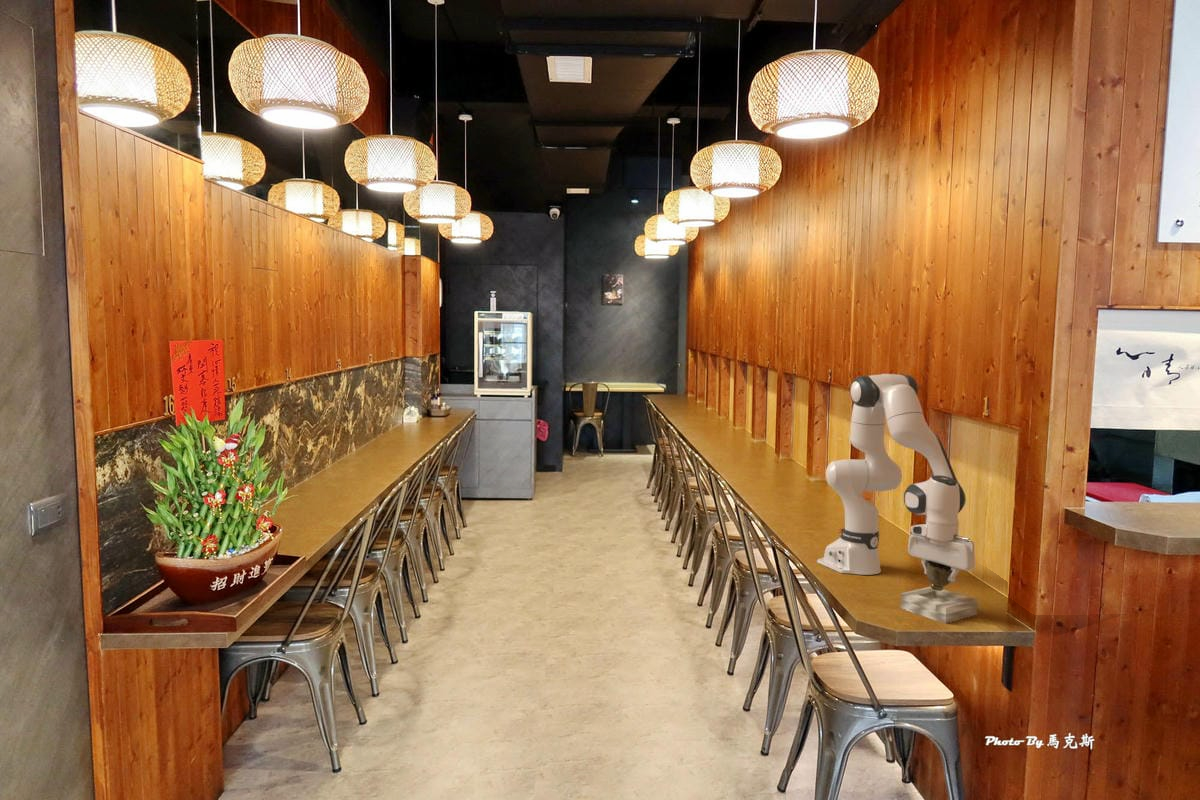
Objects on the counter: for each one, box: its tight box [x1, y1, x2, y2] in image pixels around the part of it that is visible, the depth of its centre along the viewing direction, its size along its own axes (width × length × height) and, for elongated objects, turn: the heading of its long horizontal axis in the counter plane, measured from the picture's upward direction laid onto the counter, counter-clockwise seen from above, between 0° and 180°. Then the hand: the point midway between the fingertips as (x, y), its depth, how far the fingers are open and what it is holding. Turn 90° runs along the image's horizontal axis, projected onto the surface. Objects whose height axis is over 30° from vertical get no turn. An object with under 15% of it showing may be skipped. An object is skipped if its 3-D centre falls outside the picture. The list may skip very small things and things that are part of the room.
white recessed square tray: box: [899, 586, 979, 624], centre depth 232 cm, size 15×15×5 cm
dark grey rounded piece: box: [926, 561, 952, 591], centre depth 232 cm, size 8×7×8 cm
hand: (939, 577), depth 232 cm, fingers closed on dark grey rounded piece, 6 cm apart
